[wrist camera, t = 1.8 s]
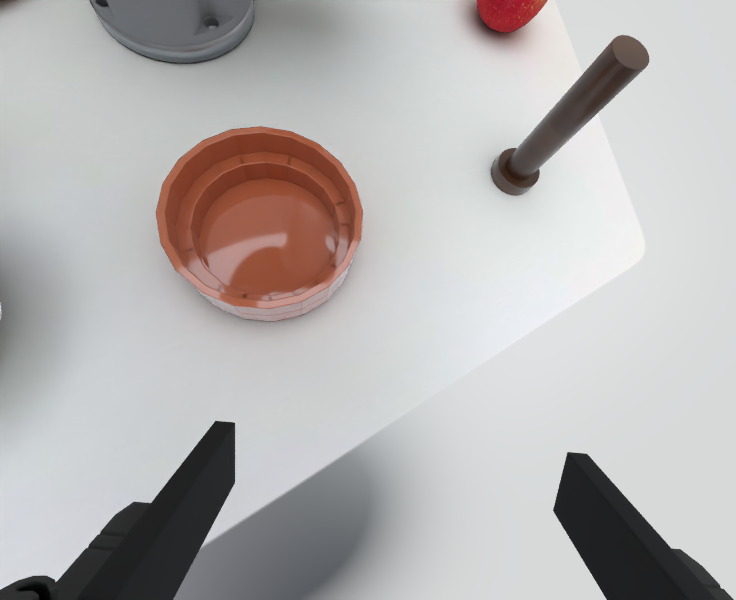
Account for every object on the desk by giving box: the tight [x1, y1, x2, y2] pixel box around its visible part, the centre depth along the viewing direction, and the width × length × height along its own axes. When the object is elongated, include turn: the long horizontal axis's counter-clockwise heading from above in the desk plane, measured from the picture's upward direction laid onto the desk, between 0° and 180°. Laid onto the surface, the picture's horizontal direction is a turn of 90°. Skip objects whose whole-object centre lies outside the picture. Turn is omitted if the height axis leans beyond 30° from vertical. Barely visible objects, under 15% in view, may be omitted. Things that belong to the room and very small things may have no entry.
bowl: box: [156, 127, 363, 321], centre depth 30 cm, size 15×15×6 cm
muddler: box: [491, 35, 649, 195], centre depth 32 cm, size 5×5×15 cm
